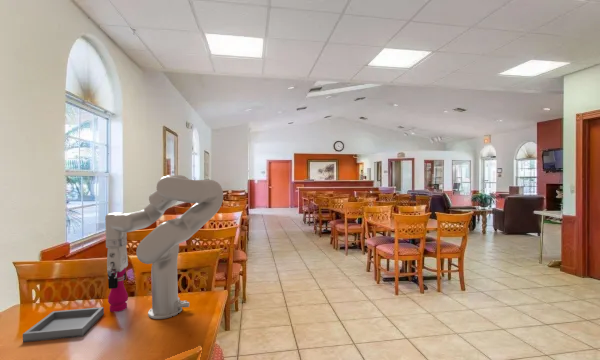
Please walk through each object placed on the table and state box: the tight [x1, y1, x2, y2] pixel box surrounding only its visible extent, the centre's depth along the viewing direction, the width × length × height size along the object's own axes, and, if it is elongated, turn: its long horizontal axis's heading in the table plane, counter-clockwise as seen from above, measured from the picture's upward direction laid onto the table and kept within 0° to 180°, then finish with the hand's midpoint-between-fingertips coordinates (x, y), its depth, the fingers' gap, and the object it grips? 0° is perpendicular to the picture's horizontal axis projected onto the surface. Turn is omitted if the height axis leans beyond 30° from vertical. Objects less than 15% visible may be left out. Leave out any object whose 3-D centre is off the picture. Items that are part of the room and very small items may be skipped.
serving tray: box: [22, 306, 105, 343], centre depth 119 cm, size 18×18×3 cm
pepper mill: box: [107, 268, 129, 313], centre depth 134 cm, size 7×7×20 cm
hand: (117, 284), depth 134 cm, fingers open, 9 cm apart
